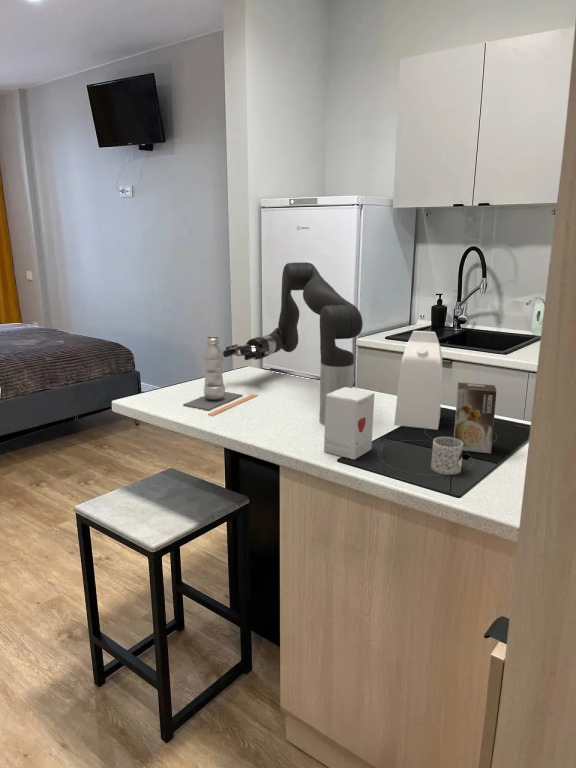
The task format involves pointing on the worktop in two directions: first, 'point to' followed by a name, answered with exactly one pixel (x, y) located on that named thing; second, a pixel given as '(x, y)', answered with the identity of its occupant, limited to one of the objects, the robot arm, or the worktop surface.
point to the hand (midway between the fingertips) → (234, 355)
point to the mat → (212, 401)
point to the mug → (447, 455)
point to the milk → (420, 382)
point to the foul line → (232, 405)
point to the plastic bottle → (213, 370)
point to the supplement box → (348, 422)
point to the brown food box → (475, 416)
